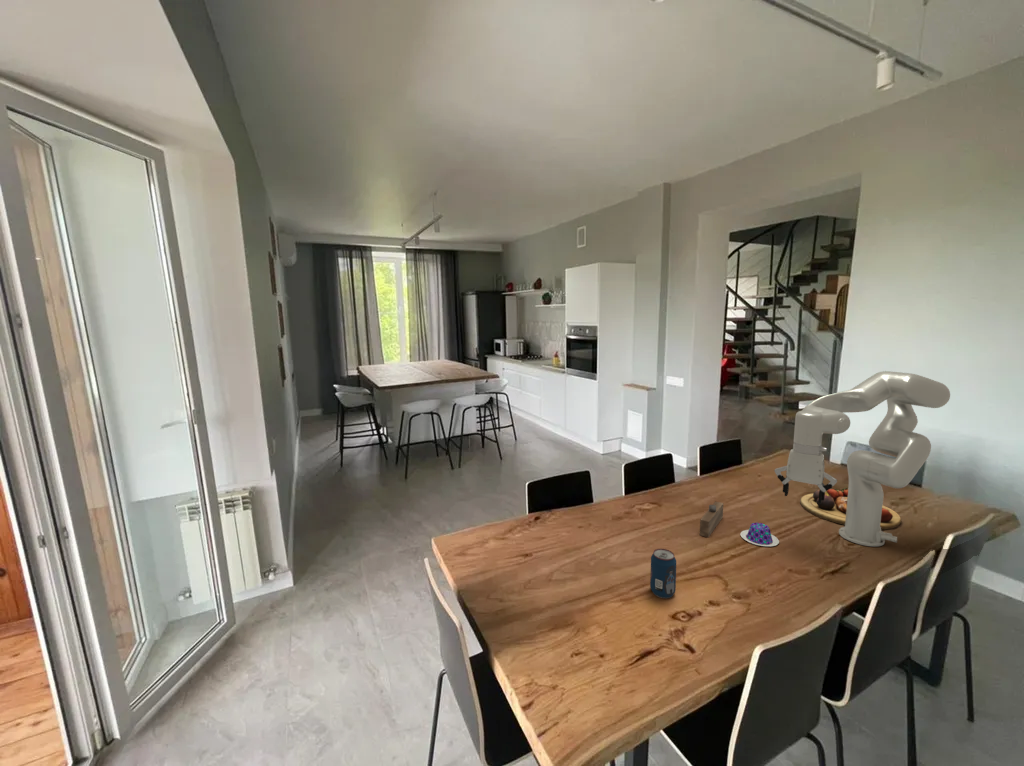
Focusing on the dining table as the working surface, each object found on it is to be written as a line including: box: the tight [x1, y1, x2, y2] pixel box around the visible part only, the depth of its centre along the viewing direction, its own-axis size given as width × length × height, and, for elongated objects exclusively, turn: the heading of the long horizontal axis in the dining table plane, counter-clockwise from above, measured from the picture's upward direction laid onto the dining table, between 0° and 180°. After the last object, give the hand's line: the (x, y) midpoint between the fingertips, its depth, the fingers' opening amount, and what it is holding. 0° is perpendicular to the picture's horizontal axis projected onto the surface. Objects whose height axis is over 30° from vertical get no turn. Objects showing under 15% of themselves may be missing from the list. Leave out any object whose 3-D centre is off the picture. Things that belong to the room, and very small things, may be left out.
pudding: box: [739, 522, 780, 547], centre depth 152 cm, size 12×12×5 cm
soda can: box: [649, 548, 677, 599], centre depth 123 cm, size 7×7×12 cm
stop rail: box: [699, 501, 724, 538], centre depth 162 cm, size 3×20×8 cm, turn 140°
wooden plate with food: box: [799, 487, 902, 530], centre depth 171 cm, size 32×32×8 cm
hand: (802, 498), depth 142 cm, fingers open, 9 cm apart
